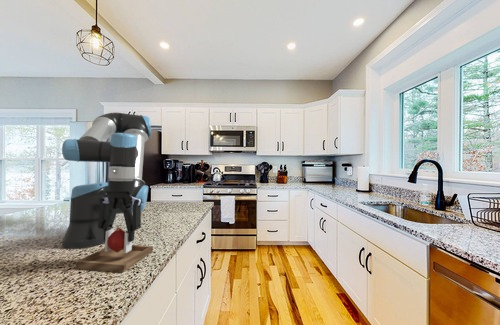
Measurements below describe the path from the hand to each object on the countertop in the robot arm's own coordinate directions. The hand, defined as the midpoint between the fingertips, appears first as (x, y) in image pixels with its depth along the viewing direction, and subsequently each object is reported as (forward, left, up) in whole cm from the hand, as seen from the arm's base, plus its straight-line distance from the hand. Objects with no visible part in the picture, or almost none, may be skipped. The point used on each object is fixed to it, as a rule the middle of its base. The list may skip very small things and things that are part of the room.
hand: (118, 250), depth 68 cm
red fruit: (0, 0, -1) cm, 1 cm away
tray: (0, 0, -3) cm, 3 cm away
